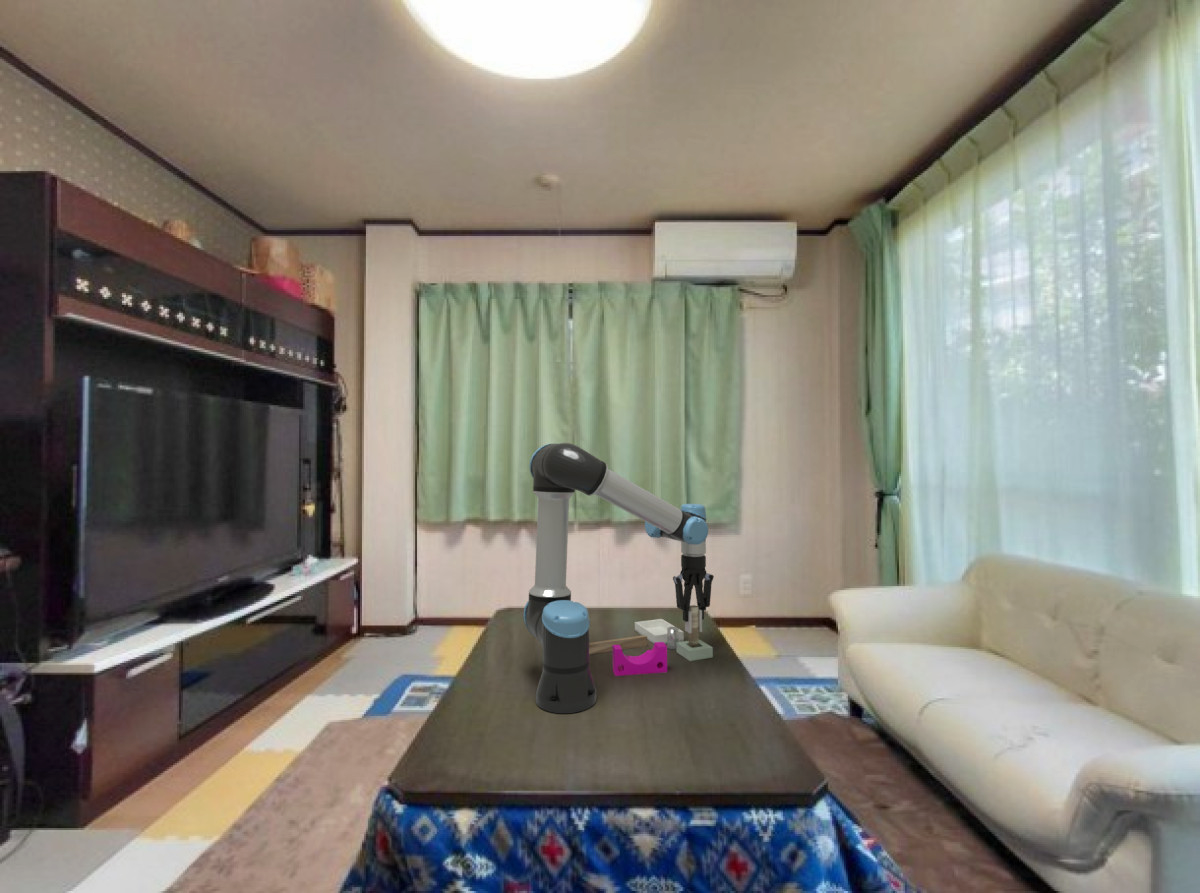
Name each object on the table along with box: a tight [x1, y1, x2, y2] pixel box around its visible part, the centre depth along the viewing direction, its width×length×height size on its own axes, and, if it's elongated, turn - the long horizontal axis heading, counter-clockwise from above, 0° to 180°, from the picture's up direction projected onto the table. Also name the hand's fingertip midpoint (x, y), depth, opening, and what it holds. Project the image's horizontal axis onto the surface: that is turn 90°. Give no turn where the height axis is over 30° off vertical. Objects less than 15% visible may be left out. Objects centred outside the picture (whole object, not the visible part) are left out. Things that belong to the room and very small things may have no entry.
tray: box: [634, 618, 685, 645], centre depth 186 cm, size 16×11×3 cm
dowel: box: [688, 604, 699, 648], centre depth 168 cm, size 3×3×12 cm
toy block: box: [612, 642, 668, 677], centre depth 156 cm, size 15×6×8 cm, turn 99°
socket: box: [676, 638, 714, 662], centre depth 168 cm, size 8×8×3 cm
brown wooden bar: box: [589, 635, 648, 655], centre depth 172 cm, size 2×22×3 cm, turn 111°
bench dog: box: [666, 626, 680, 651], centre depth 174 cm, size 4×4×6 cm
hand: (693, 630), depth 168 cm, fingers closed on dowel, 3 cm apart
